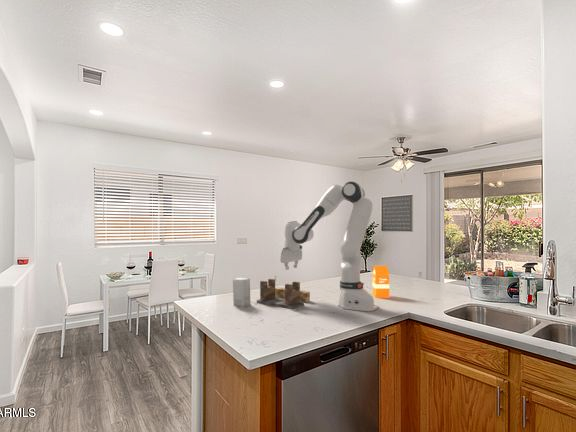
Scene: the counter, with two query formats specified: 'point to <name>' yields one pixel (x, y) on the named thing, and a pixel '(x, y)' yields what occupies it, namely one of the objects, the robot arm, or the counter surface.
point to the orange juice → (380, 282)
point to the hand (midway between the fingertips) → (291, 268)
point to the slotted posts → (289, 302)
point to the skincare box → (241, 291)
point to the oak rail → (303, 294)
